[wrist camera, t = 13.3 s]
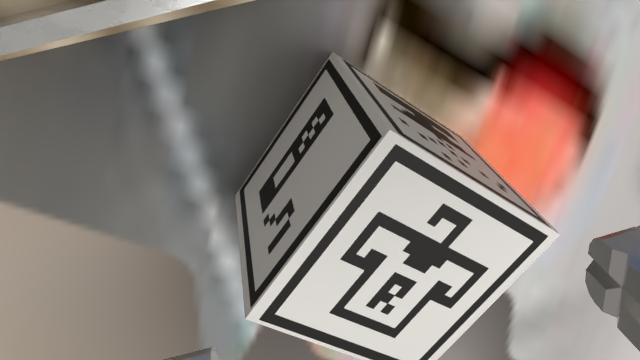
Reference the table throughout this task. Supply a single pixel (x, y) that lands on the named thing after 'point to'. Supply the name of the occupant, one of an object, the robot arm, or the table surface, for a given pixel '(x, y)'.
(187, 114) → the table surface
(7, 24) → the silver rectangular frame
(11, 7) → the plate
